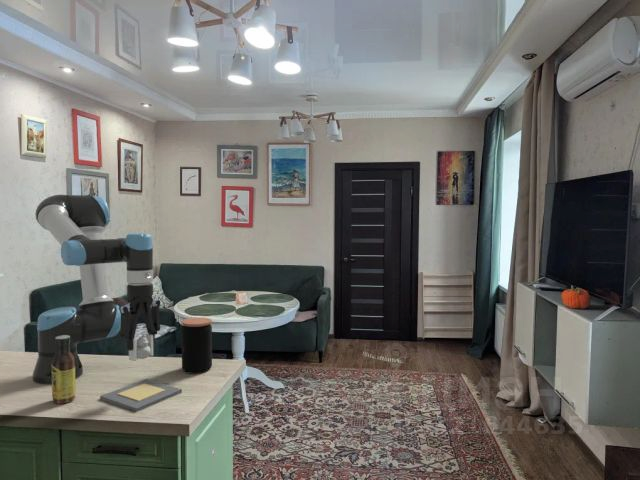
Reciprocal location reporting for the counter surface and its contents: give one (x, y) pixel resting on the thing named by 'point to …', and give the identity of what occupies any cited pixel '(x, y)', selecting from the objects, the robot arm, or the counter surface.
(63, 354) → the sauce bottle
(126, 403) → the board
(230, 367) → the counter surface
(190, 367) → the coffee jar
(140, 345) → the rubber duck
